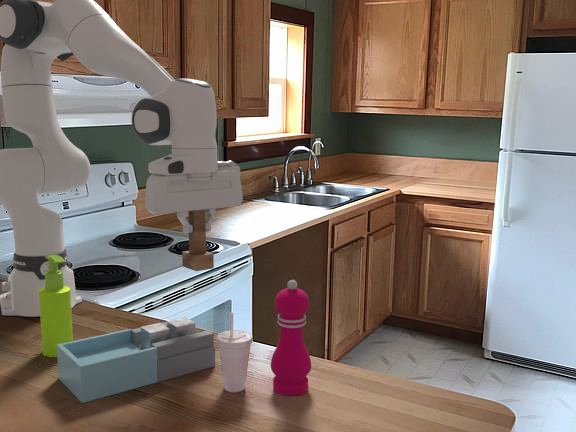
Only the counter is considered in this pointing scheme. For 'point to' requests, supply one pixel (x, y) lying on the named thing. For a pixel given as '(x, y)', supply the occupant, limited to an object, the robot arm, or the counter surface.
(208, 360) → the groove board
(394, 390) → the counter surface
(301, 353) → the pepper mill
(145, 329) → the light grey cube
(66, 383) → the tray
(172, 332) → the grey cube
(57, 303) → the soap dispenser
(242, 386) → the smoothie
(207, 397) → the counter surface
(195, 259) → the brown bar
